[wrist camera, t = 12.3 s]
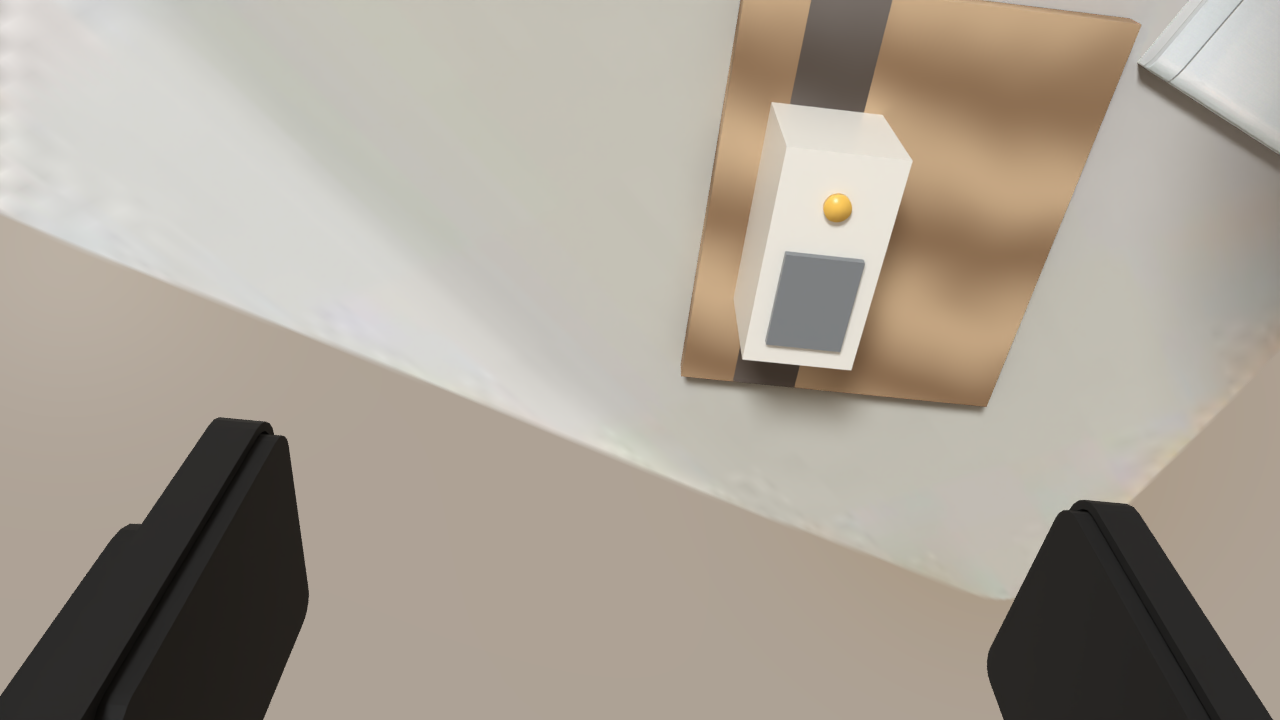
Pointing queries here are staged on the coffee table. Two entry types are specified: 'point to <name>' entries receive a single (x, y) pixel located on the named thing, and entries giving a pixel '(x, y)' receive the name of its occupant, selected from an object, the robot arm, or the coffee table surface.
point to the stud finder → (817, 234)
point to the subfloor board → (916, 174)
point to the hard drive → (1226, 62)
